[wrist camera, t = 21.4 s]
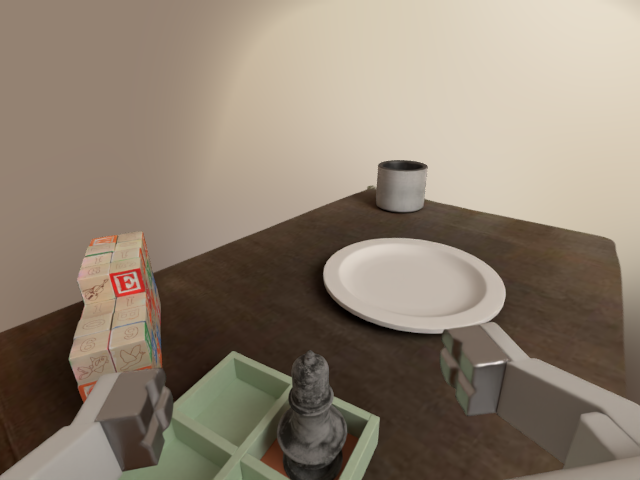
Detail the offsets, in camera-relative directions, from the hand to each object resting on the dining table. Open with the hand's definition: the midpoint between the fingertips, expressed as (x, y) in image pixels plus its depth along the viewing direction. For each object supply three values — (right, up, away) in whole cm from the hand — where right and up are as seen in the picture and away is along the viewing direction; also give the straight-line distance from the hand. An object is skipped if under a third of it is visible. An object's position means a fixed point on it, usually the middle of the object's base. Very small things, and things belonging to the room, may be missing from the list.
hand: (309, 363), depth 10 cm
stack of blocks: (-23, -11, +33) cm, 42 cm away
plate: (+15, -4, +47) cm, 50 cm away
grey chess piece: (0, -16, +20) cm, 26 cm away
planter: (+22, +12, +83) cm, 87 cm away
